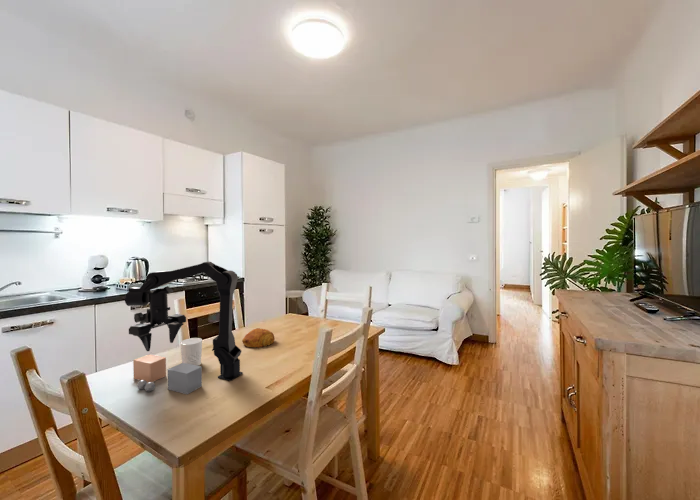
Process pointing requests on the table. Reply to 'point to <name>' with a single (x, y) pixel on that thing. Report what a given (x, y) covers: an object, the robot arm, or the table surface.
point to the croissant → (258, 338)
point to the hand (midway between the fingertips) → (160, 346)
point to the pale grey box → (184, 378)
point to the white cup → (191, 351)
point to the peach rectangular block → (149, 368)
